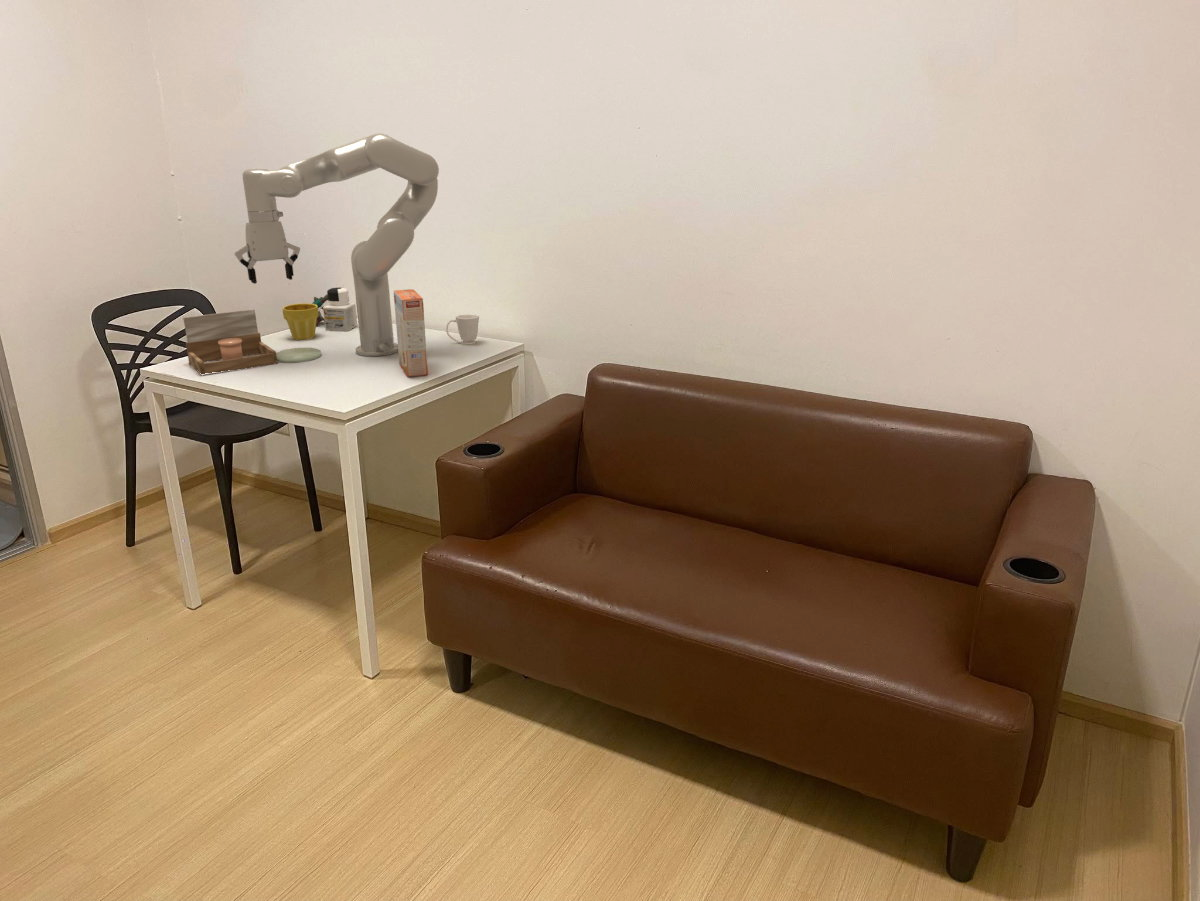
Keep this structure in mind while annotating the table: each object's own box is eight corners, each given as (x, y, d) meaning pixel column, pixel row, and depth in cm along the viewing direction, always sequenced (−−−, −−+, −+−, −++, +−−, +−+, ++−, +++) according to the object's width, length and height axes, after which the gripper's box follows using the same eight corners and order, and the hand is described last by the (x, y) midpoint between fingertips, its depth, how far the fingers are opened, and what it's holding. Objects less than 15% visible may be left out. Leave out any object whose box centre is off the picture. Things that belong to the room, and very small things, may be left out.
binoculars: (324, 327, 298) (304, 303, 295) (346, 312, 297) (326, 287, 294) (318, 334, 290) (298, 309, 286) (341, 318, 289) (321, 293, 285)
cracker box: (429, 375, 236) (423, 297, 228) (406, 378, 234) (400, 299, 226) (420, 362, 248) (414, 288, 241) (398, 364, 246) (392, 289, 239)
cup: (479, 345, 266) (478, 318, 263) (446, 346, 265) (444, 319, 262) (481, 339, 273) (479, 313, 270) (448, 340, 272) (446, 314, 269)
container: (325, 330, 285) (320, 290, 280) (335, 325, 292) (331, 285, 287) (348, 331, 284) (343, 291, 279) (358, 326, 291) (353, 286, 286)
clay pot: (247, 364, 248) (244, 341, 245) (224, 367, 244) (220, 344, 242) (241, 359, 252) (238, 336, 250) (219, 363, 249) (215, 340, 247)
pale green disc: (327, 357, 253) (327, 354, 253) (282, 365, 246) (281, 361, 246) (312, 348, 263) (312, 345, 263) (268, 355, 256) (267, 352, 256)
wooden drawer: (277, 363, 248) (271, 317, 243) (202, 375, 237) (193, 327, 232) (261, 352, 259) (255, 308, 255) (189, 363, 248) (181, 317, 244)
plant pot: (315, 341, 271) (311, 310, 268) (281, 341, 272) (277, 310, 268) (325, 333, 281) (322, 303, 278) (293, 333, 281) (289, 303, 278)
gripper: (291, 213, 246) (299, 275, 252) (226, 218, 237) (235, 282, 243) (299, 216, 240) (307, 279, 246) (233, 220, 231) (243, 286, 237)
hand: (272, 280), depth 245 cm, fingers open, 9 cm apart
